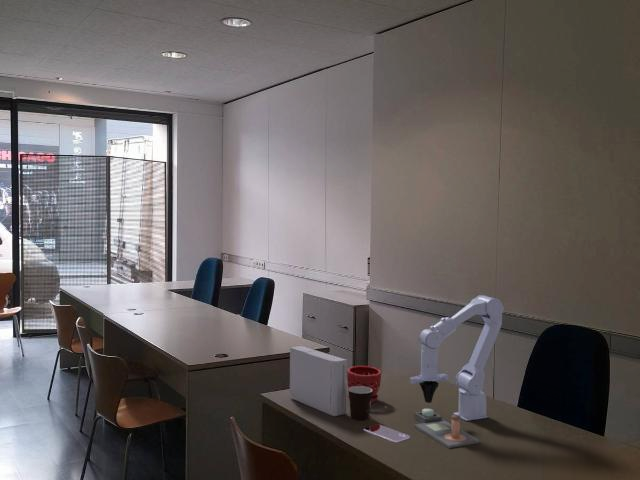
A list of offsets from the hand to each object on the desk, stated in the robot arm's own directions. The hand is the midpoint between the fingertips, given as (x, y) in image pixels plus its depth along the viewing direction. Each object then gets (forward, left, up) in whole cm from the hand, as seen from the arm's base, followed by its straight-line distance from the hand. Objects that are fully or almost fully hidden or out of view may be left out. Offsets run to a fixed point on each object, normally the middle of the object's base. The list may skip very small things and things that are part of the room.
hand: (428, 401), depth 217 cm
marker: (+2, +19, -6) cm, 20 cm away
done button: (0, 0, -6) cm, 7 cm away
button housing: (0, 0, -6) cm, 7 cm away
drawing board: (+2, +14, -6) cm, 16 cm away
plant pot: (+11, -28, -7) cm, 31 cm away
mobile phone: (+20, +6, -7) cm, 22 cm away
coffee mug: (+20, -12, -7) cm, 24 cm away
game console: (+31, -29, -7) cm, 42 cm away
